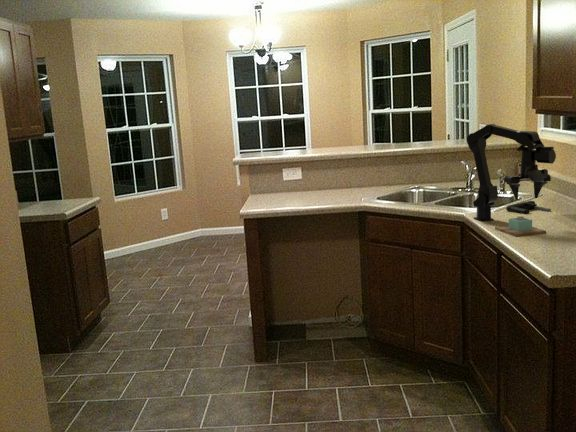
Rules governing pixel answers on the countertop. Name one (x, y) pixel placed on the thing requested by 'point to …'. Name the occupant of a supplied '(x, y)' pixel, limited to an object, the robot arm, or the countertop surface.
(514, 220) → the collar
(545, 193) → the countertop surface
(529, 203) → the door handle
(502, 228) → the post plate
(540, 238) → the countertop surface
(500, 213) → the countertop surface
